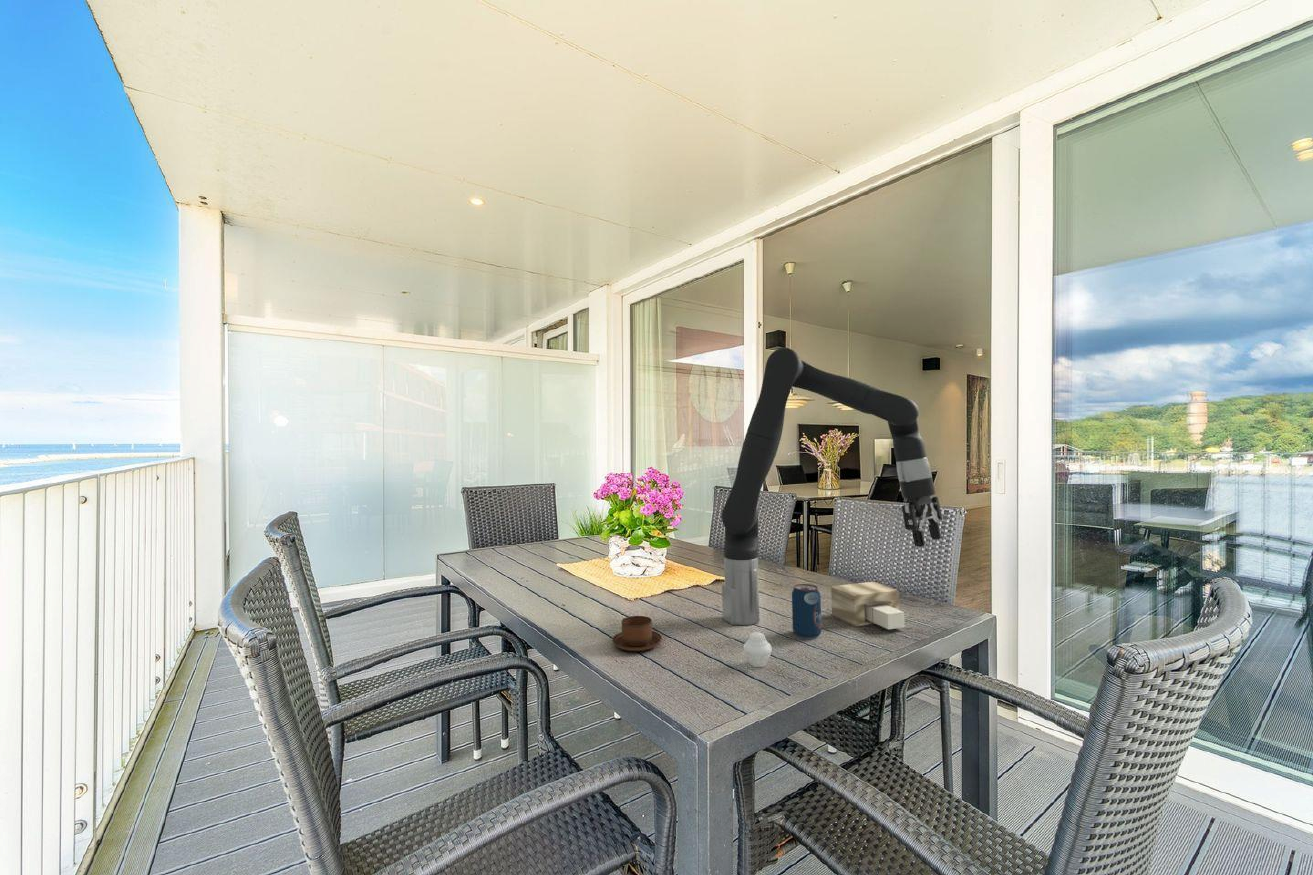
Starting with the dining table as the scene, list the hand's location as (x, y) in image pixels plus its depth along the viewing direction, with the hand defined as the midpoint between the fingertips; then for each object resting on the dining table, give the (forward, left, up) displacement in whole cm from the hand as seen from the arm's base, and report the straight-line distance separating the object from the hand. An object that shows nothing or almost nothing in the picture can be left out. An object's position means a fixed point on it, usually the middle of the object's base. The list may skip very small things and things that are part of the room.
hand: (928, 542), depth 130 cm
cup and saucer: (-70, +19, -23) cm, 76 cm away
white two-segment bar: (-6, +13, -22) cm, 26 cm away
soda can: (-28, +11, -23) cm, 38 cm away
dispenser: (-6, +17, -23) cm, 29 cm away
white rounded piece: (-48, -1, -23) cm, 53 cm away
